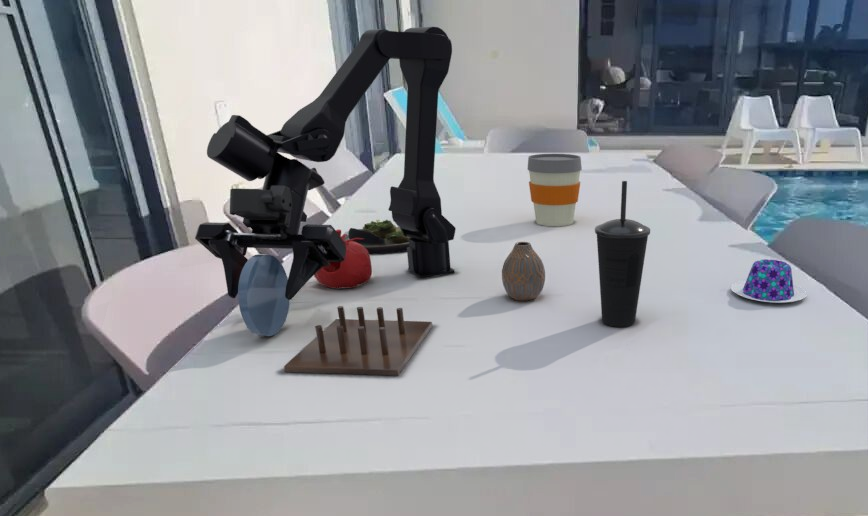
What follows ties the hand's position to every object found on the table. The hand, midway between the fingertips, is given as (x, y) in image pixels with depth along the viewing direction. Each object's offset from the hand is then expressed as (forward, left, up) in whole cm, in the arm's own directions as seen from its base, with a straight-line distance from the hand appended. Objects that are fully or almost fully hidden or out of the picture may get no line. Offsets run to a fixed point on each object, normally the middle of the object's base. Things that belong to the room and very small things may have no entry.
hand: (259, 297), depth 85 cm
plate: (-1, -1, -6) cm, 6 cm away
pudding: (-72, +26, -6) cm, 77 cm away
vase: (-38, +5, -6) cm, 39 cm away
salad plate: (-30, -40, -6) cm, 51 cm away
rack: (-10, +11, -6) cm, 16 cm away
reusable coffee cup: (-72, -38, -6) cm, 82 cm away
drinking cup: (-44, +22, -6) cm, 49 cm away
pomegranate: (-16, -18, -6) cm, 25 cm away
